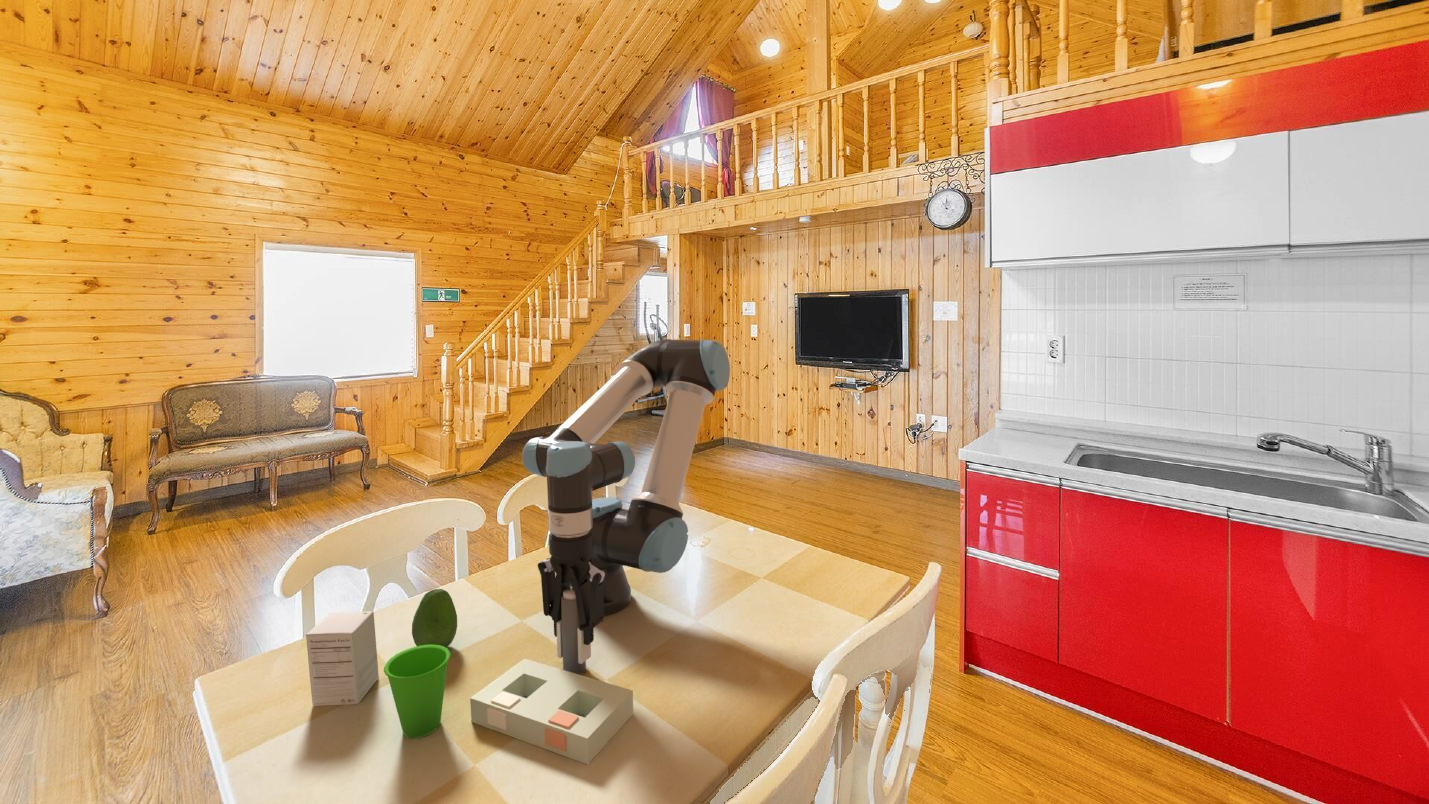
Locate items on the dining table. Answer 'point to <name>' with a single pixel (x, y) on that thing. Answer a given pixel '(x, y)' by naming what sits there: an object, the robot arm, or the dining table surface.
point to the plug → (570, 632)
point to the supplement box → (342, 658)
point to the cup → (418, 687)
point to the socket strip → (553, 709)
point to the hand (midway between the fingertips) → (574, 656)
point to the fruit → (435, 619)
